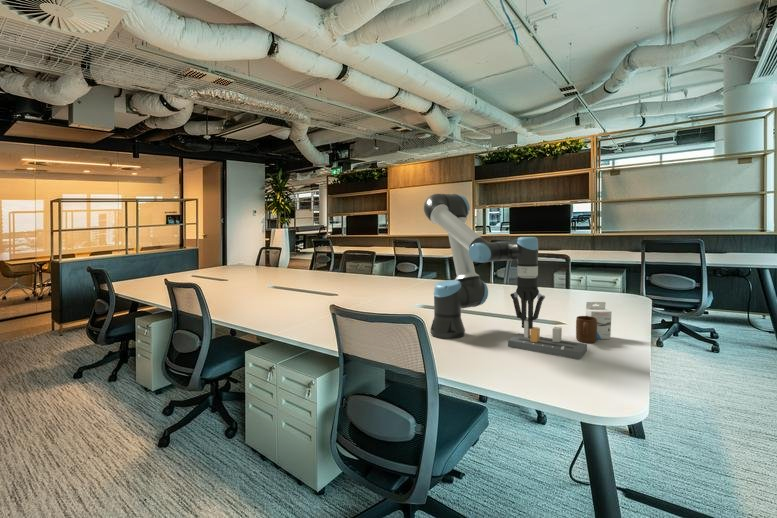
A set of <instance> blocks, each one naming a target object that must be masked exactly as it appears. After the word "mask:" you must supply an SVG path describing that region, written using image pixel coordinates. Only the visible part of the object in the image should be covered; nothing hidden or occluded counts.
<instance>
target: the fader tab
mask: <svg viewBox="0 0 777 518" xmlns="http://www.w3.org/2000/svg"><path fill="white" fill-rule="evenodd" d="M540 329H541V328H540V327H536V326H533V328H531V329H530V342H536V343H537V342H538V341H539V340H540V337H541V336H540V335H541V334H540V333H541V330H540Z"/></svg>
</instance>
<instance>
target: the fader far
mask: <svg viewBox="0 0 777 518" xmlns="http://www.w3.org/2000/svg"><path fill="white" fill-rule="evenodd" d="M562 328H563V327H562V326H561V327H560V326H554V327H553V328H552V336H551V338H552V341H553V342H560V341H561V340H562V335H563V333H562V332H563V331H562Z"/></svg>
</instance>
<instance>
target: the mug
mask: <svg viewBox="0 0 777 518" xmlns="http://www.w3.org/2000/svg"><path fill="white" fill-rule="evenodd" d="M575 320H576V321H575V333H576V334H575V339H576V341H577V342H579V343H584V344H593V343H596V342H597V340H598V339H597V319H596V318H595V317H591V316H586V315H579V316H576V319H575Z"/></svg>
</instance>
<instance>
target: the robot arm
mask: <svg viewBox="0 0 777 518" xmlns="http://www.w3.org/2000/svg"><path fill="white" fill-rule="evenodd" d="M470 208H471V207H470V203H469V201H468V199H467V198H466V197H465V196H463V195H461V194H457V193H453V194H451V193H434V194H431V195H430V196H428V197H426V199H425V201H424V204H423V211H424V214H425V216H426V217H427V219H428V220H429V221H431V222H432V223H433V224H435V225H436V224H437V225H438V226H440V227H441V228H442V229H443V230H444V231H445V233H446V232H447V235H448V241H449V245H450V250H451V254H452V259H453V264H454V269H455V274H456V277H455V279H449V280H442V281H439V282H436V284H435V285H434V287H433V288H434V289H433V305H434V306H433V309H434V311H433V313H434V315H433V319H432V323H431V326H430V329H429V330H430V332H429V333H431V334H432V335H433V336H432V335H431V334H430V335H431V336H432V337H434V336H435V338H438V339H447V340H449V339H450V340H452V339H460V338H463V337H464V336H465V335H466V328H465V326H464V322H463V320H462V319H463V318H462V309H469V308H476V307H478V306H482V305H483V304H484V303H486V301H487V299H488V298H489V297H488V296H489V288H488V285H487V284H486V283H485V281H483V280H481V277H480V274H478V273H476V271H475V269H476V268H475V266H474V263H484V264H485V263H489V262H490V263H492V262H499V261H500V262H501V261H513V262H514V261H516V263H517V270H516V271H517V276H518V277H517V282H516V283H517V285H516V286H517V288H516V291H514V292H512V293H510V297H511V299H512V302H513V306H514V310H515V311H514V312H515V315H516V318H517V319H520V320H521V328H522V329H523V334H524V337H527V338H528V337H530V333H531V328H533V327H534V325H533V324H534V321H536V320H538V318H539V314H540V311H541V308H542V305H543V301H544V299H545V298H546V296H545V294H544V295H543V294H541V293H540V290H539V278H538V276H539V263H538V262H539V240H538V237H536V236H520V237H519V236H518V238H517V241H505V240H504V241H501V240H500V241H494V242H489V241H487V240H485V239H484V238H483V237H482V236H481V235H479V234H478V233H477V232H476V231H474V230H473V229H472V228H471V227H470V226H469V225H467V223H466V221H467V220H468V216H469V213H470ZM518 297H519V298H520V300H519V298H518ZM536 298H537V301H536V305H535V309H534V303H535V302H534V300H535V299H536ZM519 301H520V302H519ZM520 303H521V305H520Z"/></svg>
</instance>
